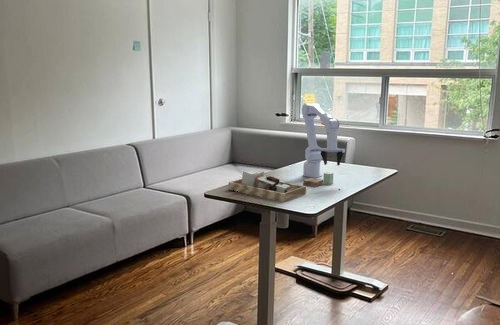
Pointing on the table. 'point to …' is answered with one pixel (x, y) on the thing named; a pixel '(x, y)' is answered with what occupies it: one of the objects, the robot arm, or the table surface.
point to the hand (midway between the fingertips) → (332, 164)
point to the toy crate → (268, 191)
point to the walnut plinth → (313, 182)
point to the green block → (328, 178)
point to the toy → (265, 182)
